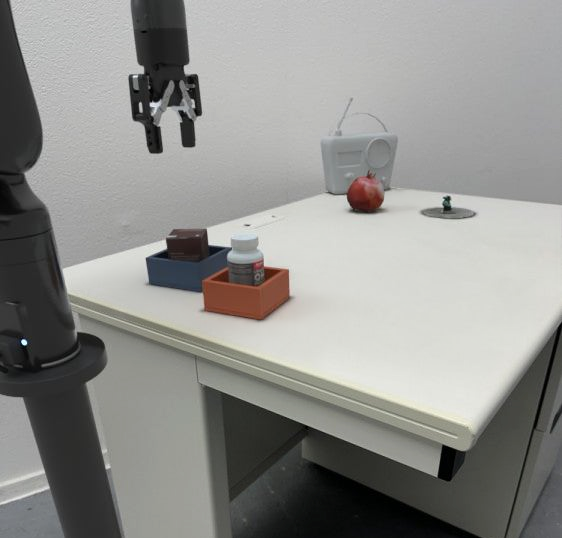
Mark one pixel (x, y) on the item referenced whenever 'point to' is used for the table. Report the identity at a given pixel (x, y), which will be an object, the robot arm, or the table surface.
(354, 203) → the fruit
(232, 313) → the terracotta bin
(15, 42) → the robot arm
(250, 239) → the pill bottle
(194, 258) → the box
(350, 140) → the radio
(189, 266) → the slate bin
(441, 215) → the sculpture
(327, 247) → the table surface
